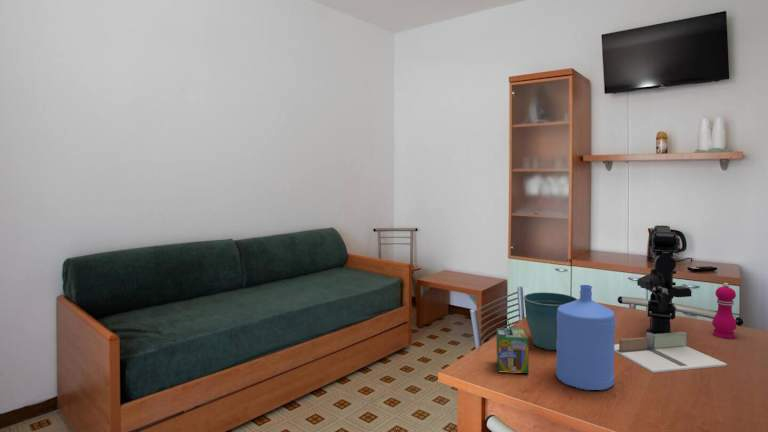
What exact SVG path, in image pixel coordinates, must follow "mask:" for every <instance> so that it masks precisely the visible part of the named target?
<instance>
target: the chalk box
mask: <svg viewBox="0 0 768 432" xmlns="http://www.w3.org/2000/svg"><path fill="white" fill-rule="evenodd" d="M506 320H507V319H506ZM507 323H508V327H506V328H505V327H502V328H501V327H499V328H498V327H497V328H496V332H495V333H496V336H495V337H496V359H495V361H497V363H496V367H498V369H497V371H498V370H499V371H507V372H521V373H529V372H530V370H529V369H530V368H529V367H530V365H529V364H530V363H529V360H530V359H529V337H528V334H527V332H526V329H524V328H511V324H510V321H509V320H507Z"/></svg>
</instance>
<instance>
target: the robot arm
mask: <svg viewBox="0 0 768 432" xmlns="http://www.w3.org/2000/svg"><path fill="white" fill-rule="evenodd" d="M680 240H681V239H680V237H679V235H677V234H676V232H675V231H671V227H670V225H654V229H653V230H652V231H651V232H649V233H648V248H650V250H649V251H650V254H651V255H652V256H653V258H654V261H653V264H654V265H653V266H654V267H653V268H651V270H650V273H649V274H646V275H644V276H642V277H639V278H638V279H637V285H636V286H638V287H639V288H640V289H645V290H647V291H649V292H650V293H651V294H650V296H649V300H648V301H647V308H646V310H647V313H646V315H647V317H648V318H649V328H646V331H647V332H649V333H653V334H662V333H673V332H671V320H674V319H676V312H677V307H676V306H675V303H673V299H674V298H689V297H692V292H693V291H692V289H691V288H690V287H686V286H683V285H677V282H675V281H674V275H675V274H677V270H675V269H676V266H677V263H676V260H675V258H674V257H675V256H674V255H675V254H679V251H681V241H680Z"/></svg>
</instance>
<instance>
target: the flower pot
mask: <svg viewBox="0 0 768 432" xmlns="http://www.w3.org/2000/svg"><path fill="white" fill-rule="evenodd" d="M523 300H524V308H525V309H524V311H525V319H526V323H527V326H528V329H529V330H528V331H529V332H530V336H531V338H532V344H533V345H534V346H535V345H536V346H535V347H537V346H538V348H540V347H541V348H540V349H543V348H544V350H549V351H557V349H556V341H557V309H558V307H559V306H561V305H563V304H566V303H570V302H573V301H576V300H578V298H577V297H575V296H572V295H568V294H565V293H557V292H545V291H543V292H542V291H541V292H532V293H527V294H525V295H523Z"/></svg>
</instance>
